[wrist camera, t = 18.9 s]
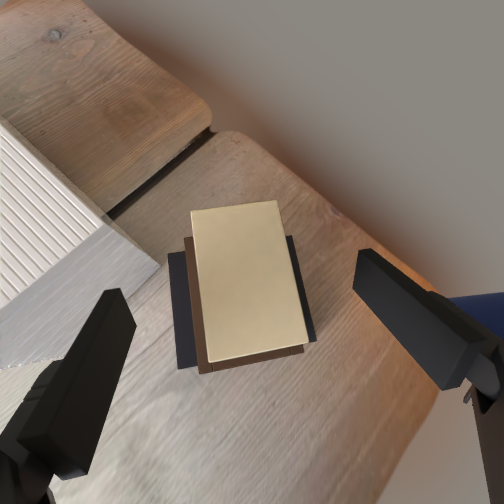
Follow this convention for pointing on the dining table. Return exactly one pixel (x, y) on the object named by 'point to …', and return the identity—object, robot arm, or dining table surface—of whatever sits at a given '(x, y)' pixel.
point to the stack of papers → (54, 255)
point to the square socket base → (191, 316)
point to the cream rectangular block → (246, 281)
